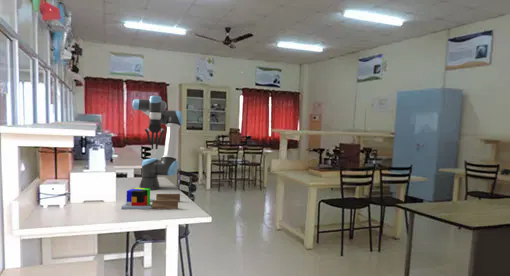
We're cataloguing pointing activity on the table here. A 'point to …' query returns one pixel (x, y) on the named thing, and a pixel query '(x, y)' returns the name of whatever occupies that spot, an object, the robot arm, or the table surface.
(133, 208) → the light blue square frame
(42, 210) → the table surface
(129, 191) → the puzzle toy
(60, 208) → the table surface
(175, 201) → the channel
